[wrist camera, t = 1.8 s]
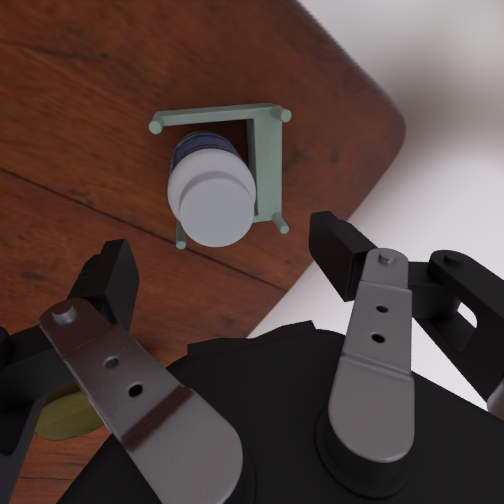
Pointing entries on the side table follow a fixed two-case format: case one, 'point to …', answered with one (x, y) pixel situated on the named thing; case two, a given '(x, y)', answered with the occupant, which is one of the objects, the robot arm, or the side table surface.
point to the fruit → (67, 414)
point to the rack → (259, 151)
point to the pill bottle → (211, 189)
